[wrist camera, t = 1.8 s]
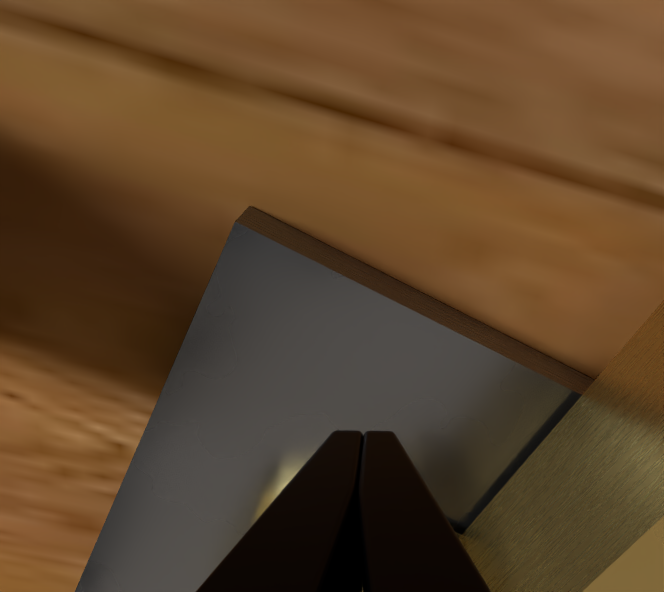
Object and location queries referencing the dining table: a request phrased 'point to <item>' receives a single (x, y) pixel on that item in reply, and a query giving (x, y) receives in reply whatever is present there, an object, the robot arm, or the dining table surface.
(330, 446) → the robot arm
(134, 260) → the dining table surface
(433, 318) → the steel plate
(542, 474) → the wooden ring wrench
